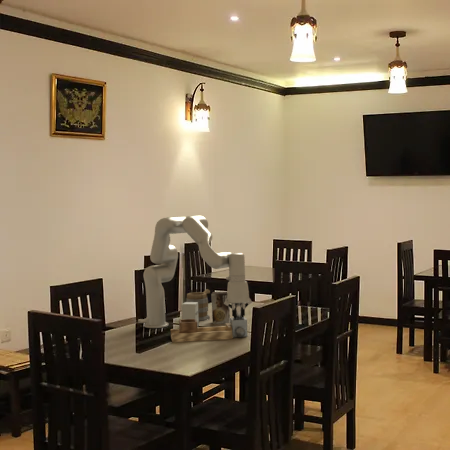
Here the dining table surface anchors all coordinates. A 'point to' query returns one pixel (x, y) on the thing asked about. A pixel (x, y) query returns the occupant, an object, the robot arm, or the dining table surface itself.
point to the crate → (188, 326)
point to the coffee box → (220, 308)
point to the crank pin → (238, 311)
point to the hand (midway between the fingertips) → (238, 317)
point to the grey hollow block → (239, 327)
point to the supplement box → (190, 311)
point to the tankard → (200, 303)
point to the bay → (203, 334)
